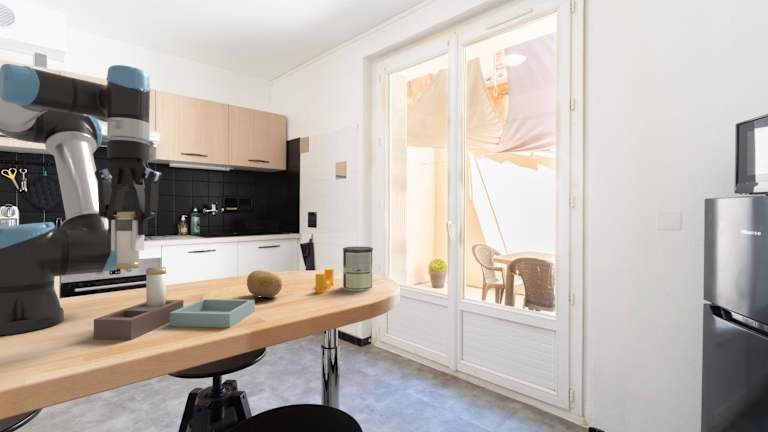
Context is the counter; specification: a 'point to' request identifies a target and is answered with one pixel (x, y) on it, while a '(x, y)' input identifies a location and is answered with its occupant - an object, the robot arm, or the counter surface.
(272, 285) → the potato
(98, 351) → the counter surface
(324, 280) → the pipe clamp
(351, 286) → the coffee can
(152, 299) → the fuse
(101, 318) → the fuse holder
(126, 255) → the fuse
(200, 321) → the parts tray
